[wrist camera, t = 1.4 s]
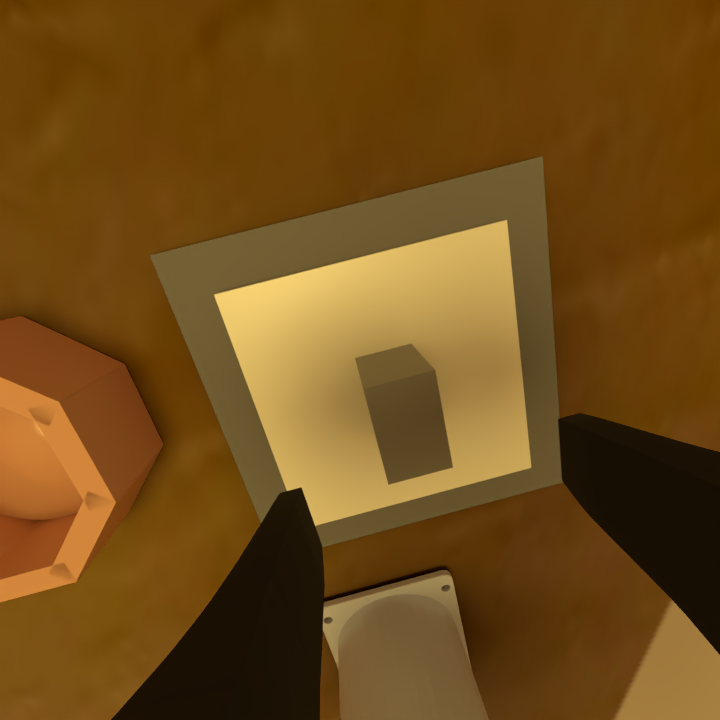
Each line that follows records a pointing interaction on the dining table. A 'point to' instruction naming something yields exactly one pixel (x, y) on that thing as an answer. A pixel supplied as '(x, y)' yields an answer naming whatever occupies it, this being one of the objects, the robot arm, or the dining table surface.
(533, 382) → the mat
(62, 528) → the bowl
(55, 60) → the dining table surface
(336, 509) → the lid
